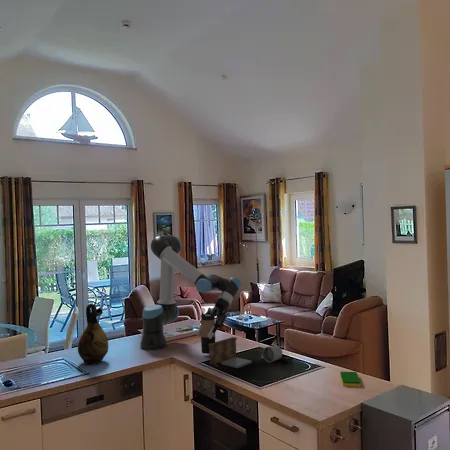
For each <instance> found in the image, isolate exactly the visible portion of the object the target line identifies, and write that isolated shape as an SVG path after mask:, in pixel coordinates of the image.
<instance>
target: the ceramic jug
mask: <svg viewBox="0 0 450 450" xmlns="http://www.w3.org/2000/svg"><path fill="white" fill-rule="evenodd" d="M103 313H104V312H103V309H102V307H98V308H97V306H96V304H93V303H89V304H87V306H86V308H85V314H86V315H85V317H86V323H87V325H86V327H85V329H84V330H83V332H82V333H81V335H80V337H79V340H78V344H77V352H78V353H77V354H78V355H79V357H80V358H81V360H82V361H83V364H84V365H87V366H91V365H93V366H94V365H98V364H102V362H103V359H104V358H105V357H106V355H107V353H108V352H109V351H108V350H109V340H108V337H107V334H106V333H105V331H104V329H103V327H102V326H101V325H100V323H99V322H98V321H99V320H98V317H100V316H102V314H103Z"/></svg>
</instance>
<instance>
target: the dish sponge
mask: <svg viewBox="0 0 450 450" xmlns="http://www.w3.org/2000/svg"><path fill="white" fill-rule="evenodd" d="M340 379H341V380H340V381H341V383H342V387H349V388H350V387H352V388H357V387H358V388H360V387H361V380H360V377H359V374H358V372H357V371H340Z"/></svg>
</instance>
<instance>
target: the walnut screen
mask: <svg viewBox="0 0 450 450" xmlns="http://www.w3.org/2000/svg"><path fill="white" fill-rule="evenodd" d="M237 339H238V338H237V337H234V336H231V337H228V338H224V339H222V340H219V341H215V342H214V343H210V344H208V346H209V354H208V355H209V365H212V366H213V365H216V364H219V363H221V362H223V361H225V360H228V359H231V358H234V357H237Z"/></svg>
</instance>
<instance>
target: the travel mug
mask: <svg viewBox="0 0 450 450" xmlns="http://www.w3.org/2000/svg"><path fill="white" fill-rule="evenodd" d="M200 320H201V322H200V326H201V336H200V343H201V346H200V347H201V353H202V354H205V355H209V346H208V344H210V343H214V342H216V332H215V333H214V334H213V336H212V338H211V339H210V338H209V337H208V336H207V335H208V334H209V332H210V330H211V328H212V327H213V326H215V322H216V316H215V314H212V313H209V314H205V313H201V315H200Z"/></svg>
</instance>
